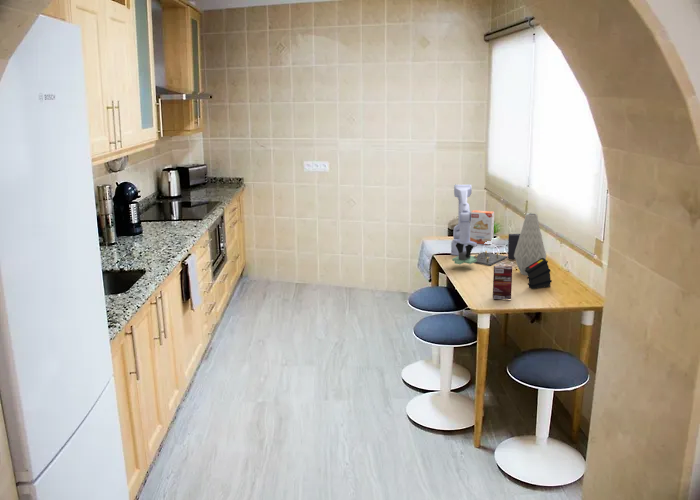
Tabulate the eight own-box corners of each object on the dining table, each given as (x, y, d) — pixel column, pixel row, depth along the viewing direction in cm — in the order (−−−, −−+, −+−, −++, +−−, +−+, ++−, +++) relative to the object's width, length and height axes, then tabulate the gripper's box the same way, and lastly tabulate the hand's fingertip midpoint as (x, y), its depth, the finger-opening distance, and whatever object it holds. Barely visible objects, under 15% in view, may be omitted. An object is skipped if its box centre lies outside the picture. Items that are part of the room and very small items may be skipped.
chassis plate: (465, 261, 360) (465, 255, 359) (483, 253, 374) (483, 248, 373) (490, 265, 350) (490, 260, 349) (507, 257, 364) (507, 252, 363)
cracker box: (469, 243, 399) (470, 211, 394) (472, 241, 404) (472, 209, 399) (491, 245, 393) (491, 213, 387) (493, 242, 398) (494, 211, 392)
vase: (543, 279, 323) (546, 218, 315) (510, 276, 330) (512, 216, 321) (547, 270, 338) (550, 211, 329) (516, 267, 345) (518, 210, 336)
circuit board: (448, 262, 346) (448, 254, 345) (462, 256, 357) (463, 248, 355) (466, 265, 338) (466, 257, 337) (480, 259, 349) (480, 251, 348)
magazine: (556, 283, 311) (546, 258, 306) (535, 296, 310) (524, 272, 305) (552, 281, 315) (542, 257, 310) (531, 294, 314) (520, 270, 308)
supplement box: (493, 300, 296) (493, 268, 292) (492, 296, 301) (493, 265, 297) (511, 300, 295) (512, 268, 290) (510, 297, 299) (511, 265, 295)
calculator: (526, 258, 362) (527, 233, 358) (528, 260, 358) (529, 235, 354) (507, 258, 363) (508, 233, 359) (508, 260, 359) (509, 235, 355)
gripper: (449, 233, 345) (449, 256, 349) (472, 236, 336) (471, 260, 339) (456, 230, 350) (456, 253, 354) (479, 234, 341) (478, 257, 344)
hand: (464, 256), depth 347 cm, fingers closed on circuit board, 4 cm apart
